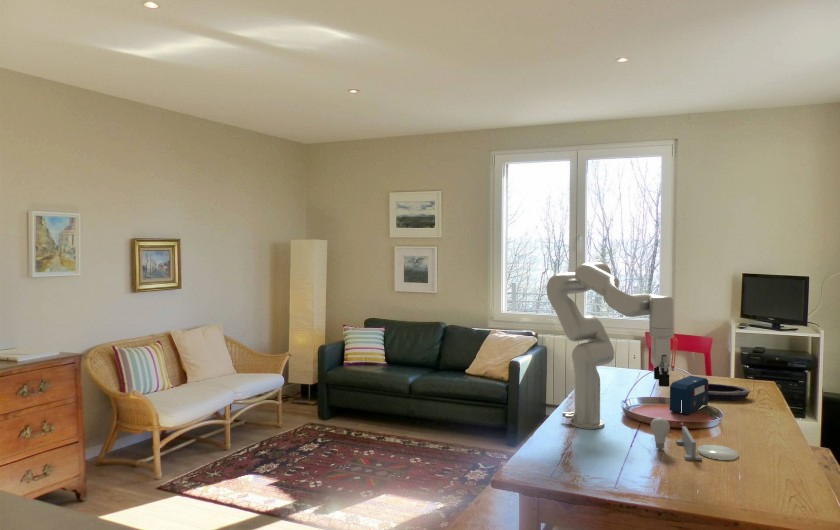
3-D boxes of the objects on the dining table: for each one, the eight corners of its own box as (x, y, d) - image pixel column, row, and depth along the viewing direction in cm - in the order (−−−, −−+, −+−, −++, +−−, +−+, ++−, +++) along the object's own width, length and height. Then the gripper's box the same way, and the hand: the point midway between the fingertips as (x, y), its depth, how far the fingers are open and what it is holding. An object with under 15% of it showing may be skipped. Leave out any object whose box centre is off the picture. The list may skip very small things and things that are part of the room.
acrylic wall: (685, 459, 191) (685, 441, 191) (676, 442, 207) (676, 425, 207) (701, 461, 190) (702, 442, 190) (691, 443, 206) (691, 426, 205)
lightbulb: (671, 453, 197) (671, 421, 197) (652, 452, 198) (652, 420, 198) (667, 446, 203) (667, 415, 202) (648, 445, 204) (649, 414, 204)
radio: (688, 417, 235) (689, 367, 233) (667, 412, 241) (668, 364, 240) (711, 406, 248) (712, 359, 247) (690, 402, 255) (691, 356, 254)
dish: (753, 404, 251) (754, 393, 251) (675, 399, 260) (675, 388, 260) (745, 394, 266) (745, 383, 266) (671, 390, 275) (671, 379, 275)
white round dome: (702, 458, 192) (702, 456, 192) (694, 445, 204) (694, 443, 204) (742, 461, 189) (742, 459, 189) (732, 448, 201) (732, 446, 201)
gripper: (645, 328, 208) (645, 376, 209) (653, 336, 191) (653, 388, 192) (668, 328, 207) (668, 377, 207) (678, 336, 190) (678, 389, 190)
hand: (661, 382), depth 200 cm, fingers open, 9 cm apart
